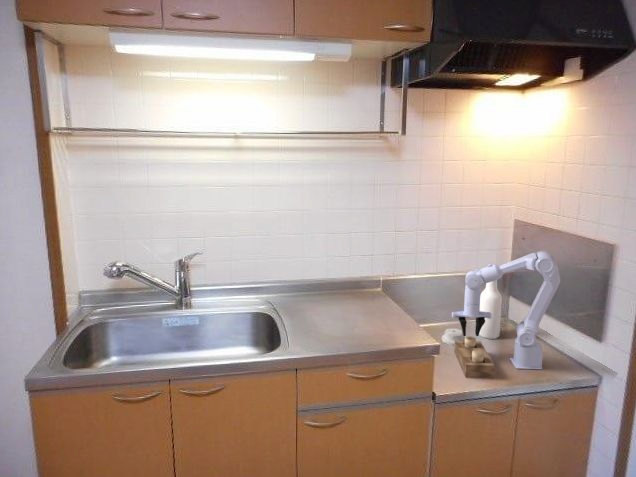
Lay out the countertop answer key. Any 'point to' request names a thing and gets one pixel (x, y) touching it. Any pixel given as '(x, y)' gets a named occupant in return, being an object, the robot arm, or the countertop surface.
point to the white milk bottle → (491, 310)
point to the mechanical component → (452, 336)
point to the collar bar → (468, 366)
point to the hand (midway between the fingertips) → (470, 335)
